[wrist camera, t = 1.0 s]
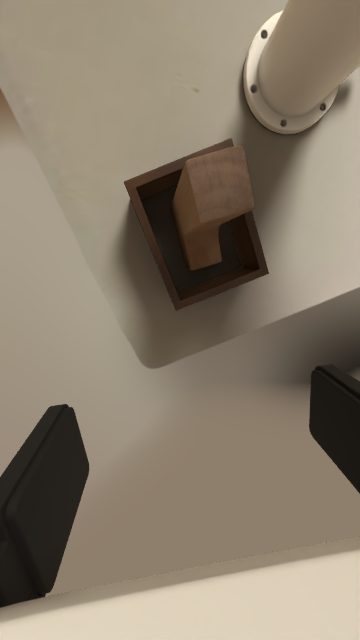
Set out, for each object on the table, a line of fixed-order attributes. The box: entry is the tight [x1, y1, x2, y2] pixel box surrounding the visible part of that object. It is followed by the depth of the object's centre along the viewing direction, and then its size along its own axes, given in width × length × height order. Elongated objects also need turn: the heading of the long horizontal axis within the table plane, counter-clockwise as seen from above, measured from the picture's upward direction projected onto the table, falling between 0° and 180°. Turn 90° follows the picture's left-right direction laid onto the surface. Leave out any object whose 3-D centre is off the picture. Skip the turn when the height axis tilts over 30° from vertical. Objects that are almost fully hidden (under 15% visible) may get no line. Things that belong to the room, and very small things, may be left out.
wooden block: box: [171, 145, 254, 271], centre depth 27 cm, size 9×4×18 cm, turn 16°
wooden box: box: [124, 138, 269, 311], centre depth 32 cm, size 13×16×7 cm
